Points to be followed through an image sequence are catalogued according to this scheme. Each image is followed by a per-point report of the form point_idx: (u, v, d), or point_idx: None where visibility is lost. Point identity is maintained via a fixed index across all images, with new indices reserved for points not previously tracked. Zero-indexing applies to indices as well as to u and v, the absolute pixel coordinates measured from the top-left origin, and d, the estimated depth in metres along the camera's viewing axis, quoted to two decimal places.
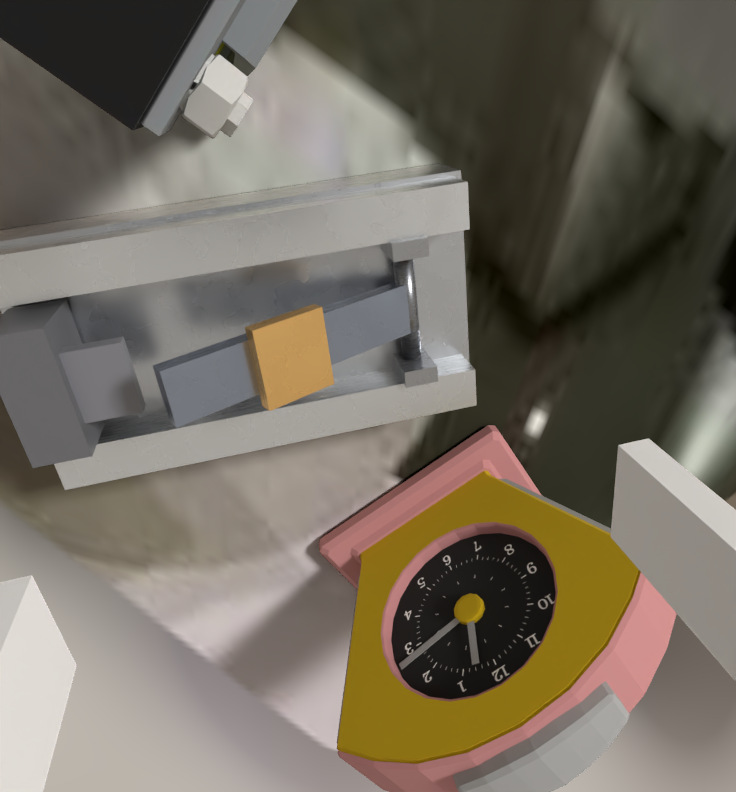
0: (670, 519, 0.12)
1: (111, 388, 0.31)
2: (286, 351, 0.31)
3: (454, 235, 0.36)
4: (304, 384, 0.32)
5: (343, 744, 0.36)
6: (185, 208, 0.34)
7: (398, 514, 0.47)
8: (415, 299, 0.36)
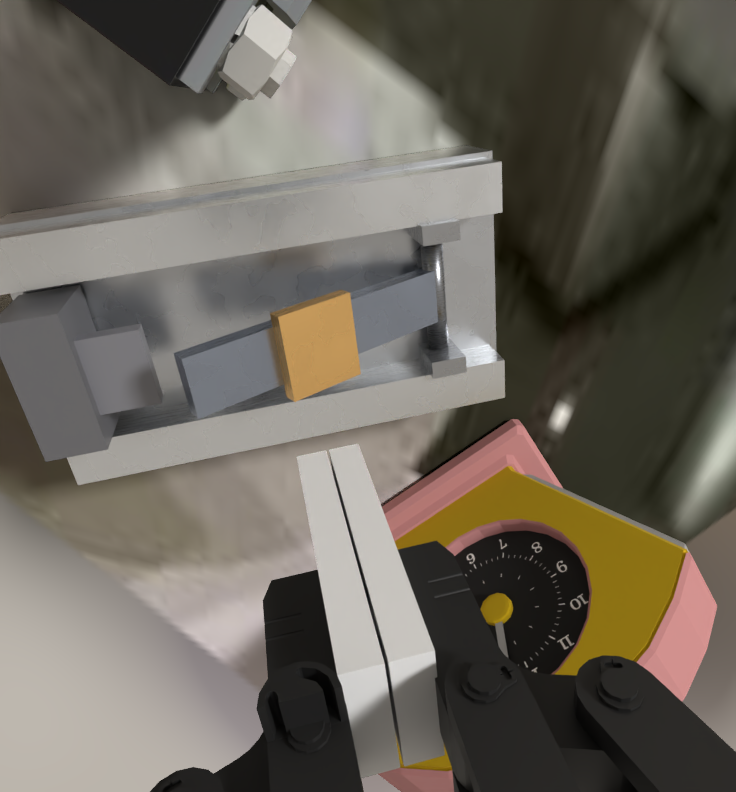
0: (345, 517, 0.14)
1: (128, 378, 0.30)
2: (312, 339, 0.29)
3: (484, 219, 0.34)
4: (330, 374, 0.30)
5: None
6: (204, 190, 0.32)
7: (419, 511, 0.46)
8: (443, 286, 0.34)
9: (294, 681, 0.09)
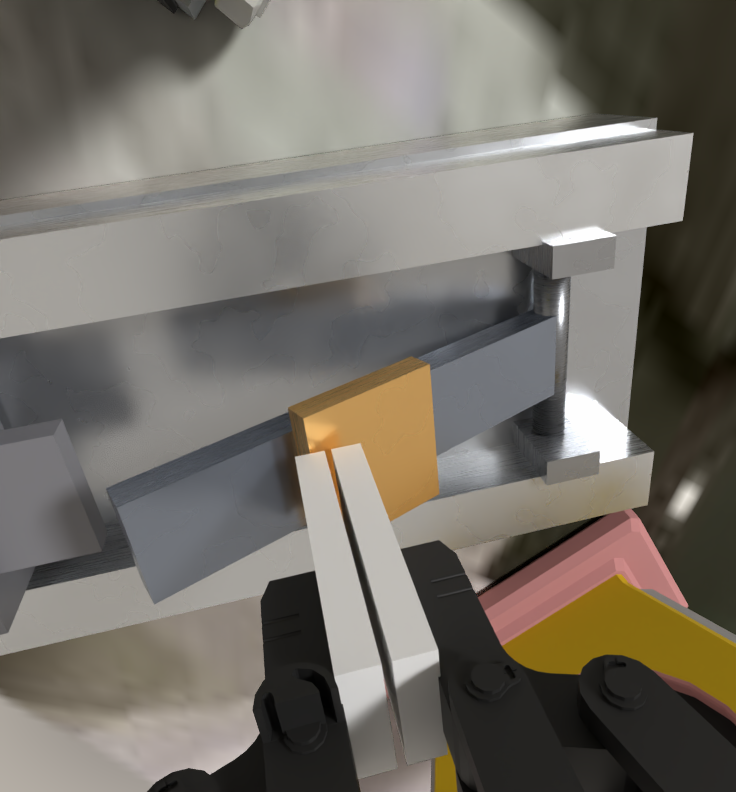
0: (348, 517, 0.14)
1: (40, 514, 0.17)
2: (363, 449, 0.16)
3: (631, 231, 0.21)
4: (391, 501, 0.18)
5: None
6: (178, 182, 0.19)
7: None
8: (567, 339, 0.21)
9: (290, 682, 0.09)
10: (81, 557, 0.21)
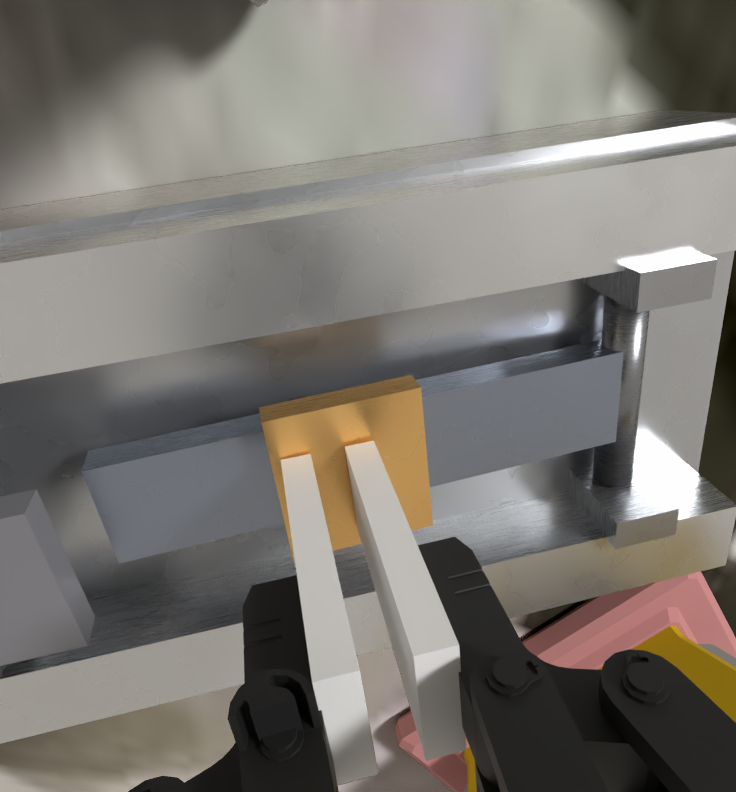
0: (362, 514, 0.14)
1: (10, 607, 0.14)
2: (334, 463, 0.16)
3: None
4: None
5: None
6: (181, 194, 0.16)
7: None
8: (638, 381, 0.18)
9: (266, 689, 0.09)
10: None
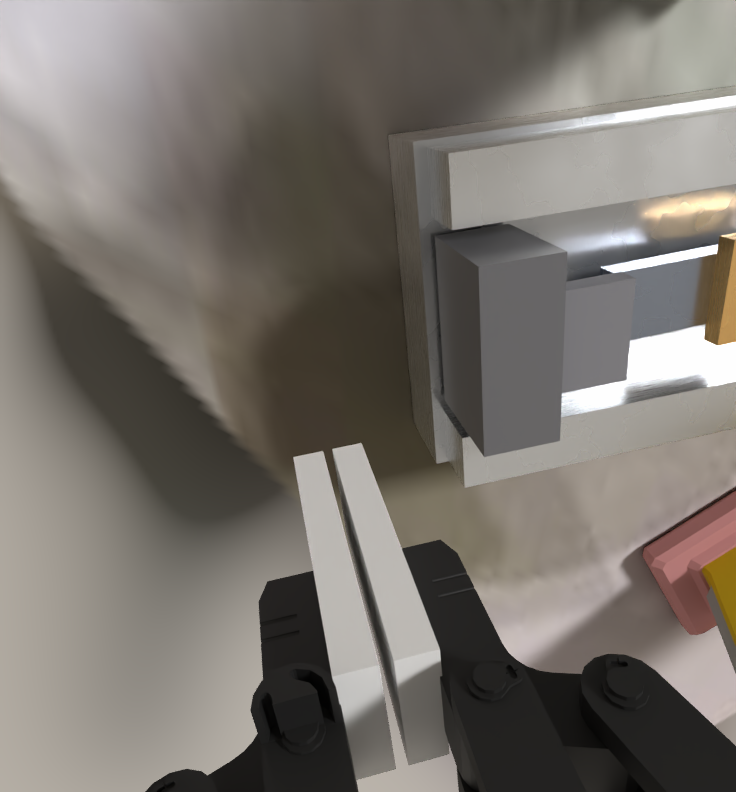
0: (348, 517, 0.14)
1: (601, 345, 0.22)
2: None
3: None
4: None
5: None
6: (657, 102, 0.25)
7: None
8: None
9: (288, 682, 0.09)
10: None
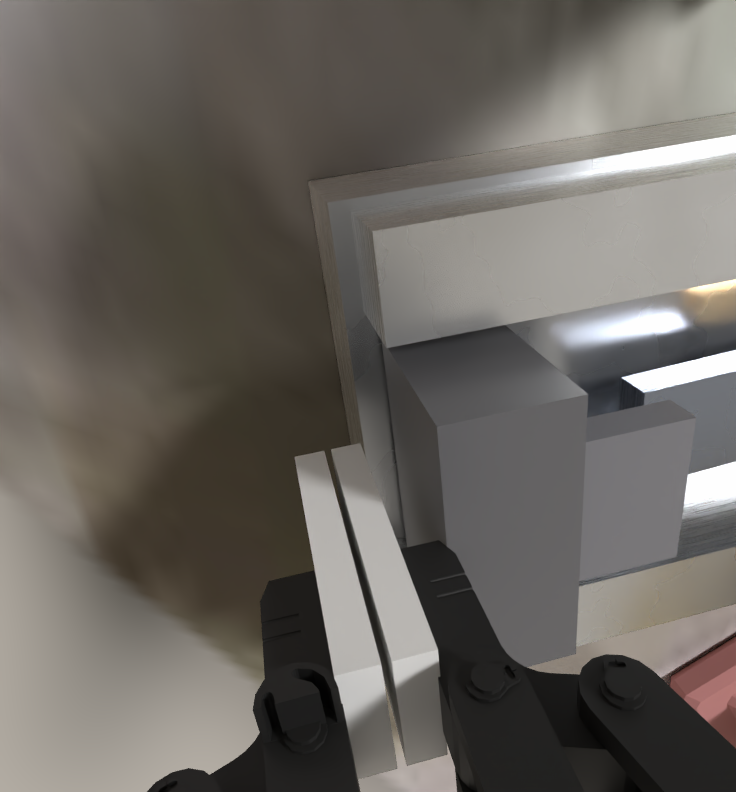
0: (347, 517, 0.14)
1: (639, 513, 0.14)
2: None
3: None
4: None
5: None
6: (704, 130, 0.17)
7: None
8: None
9: (291, 682, 0.09)
10: None
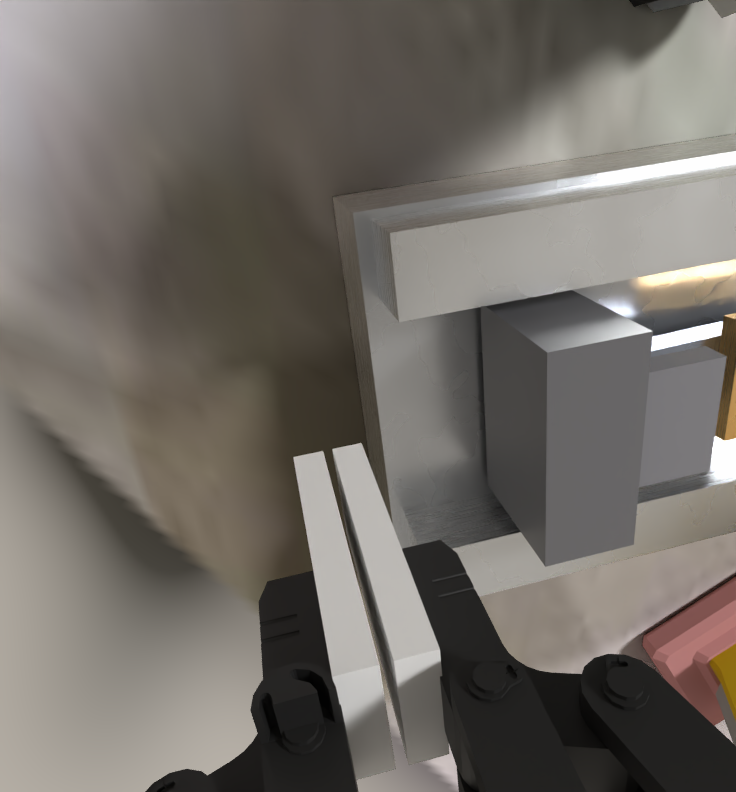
0: (349, 517, 0.14)
1: (682, 433, 0.19)
2: None
3: None
4: None
5: None
6: (647, 158, 0.21)
7: None
8: None
9: (288, 682, 0.09)
10: None
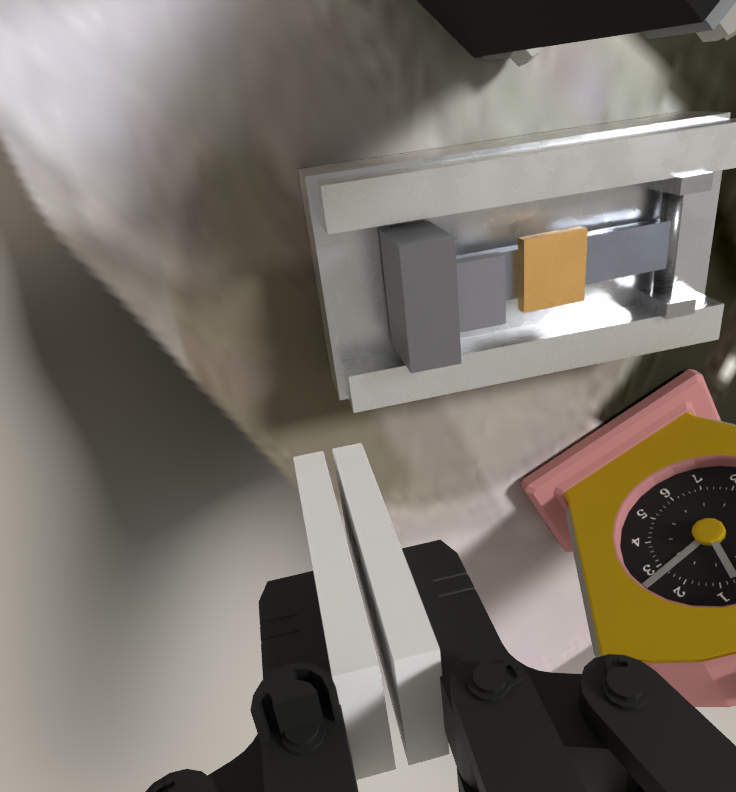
0: (348, 516, 0.14)
1: (486, 299, 0.34)
2: (548, 263, 0.36)
3: (713, 176, 0.38)
4: (558, 295, 0.37)
5: (609, 652, 0.38)
6: (478, 147, 0.36)
7: (602, 454, 0.49)
8: (677, 236, 0.38)
9: (288, 682, 0.09)
10: None
